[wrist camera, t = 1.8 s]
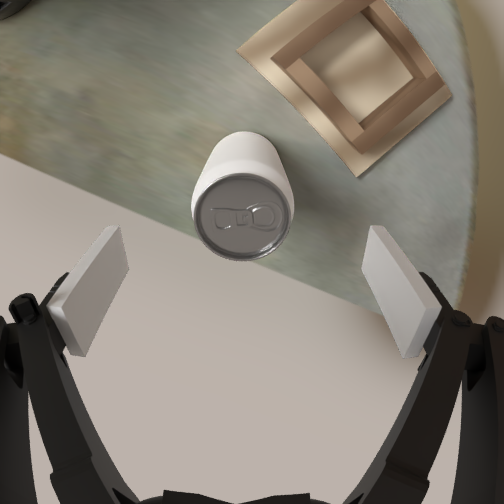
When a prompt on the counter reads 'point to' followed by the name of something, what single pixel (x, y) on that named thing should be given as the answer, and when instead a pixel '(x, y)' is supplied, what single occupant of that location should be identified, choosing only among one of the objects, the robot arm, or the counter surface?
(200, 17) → the counter surface
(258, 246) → the can
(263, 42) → the keeper board
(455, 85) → the counter surface
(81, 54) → the counter surface
